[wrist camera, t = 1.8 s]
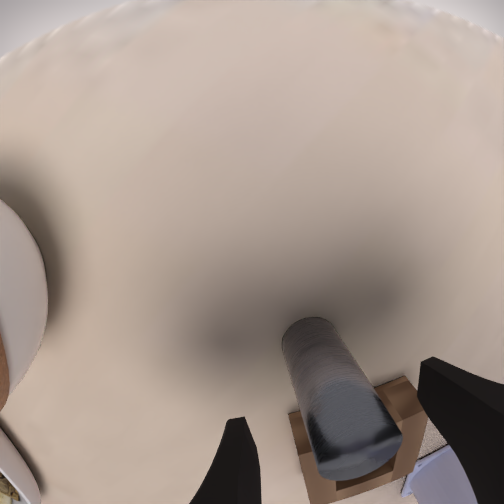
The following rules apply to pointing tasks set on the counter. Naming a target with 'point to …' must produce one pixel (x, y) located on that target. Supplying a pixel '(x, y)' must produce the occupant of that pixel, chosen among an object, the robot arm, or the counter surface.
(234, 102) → the counter surface
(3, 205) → the lidded jar
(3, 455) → the bowl
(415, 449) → the socket block
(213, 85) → the counter surface
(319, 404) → the pin
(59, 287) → the counter surface
